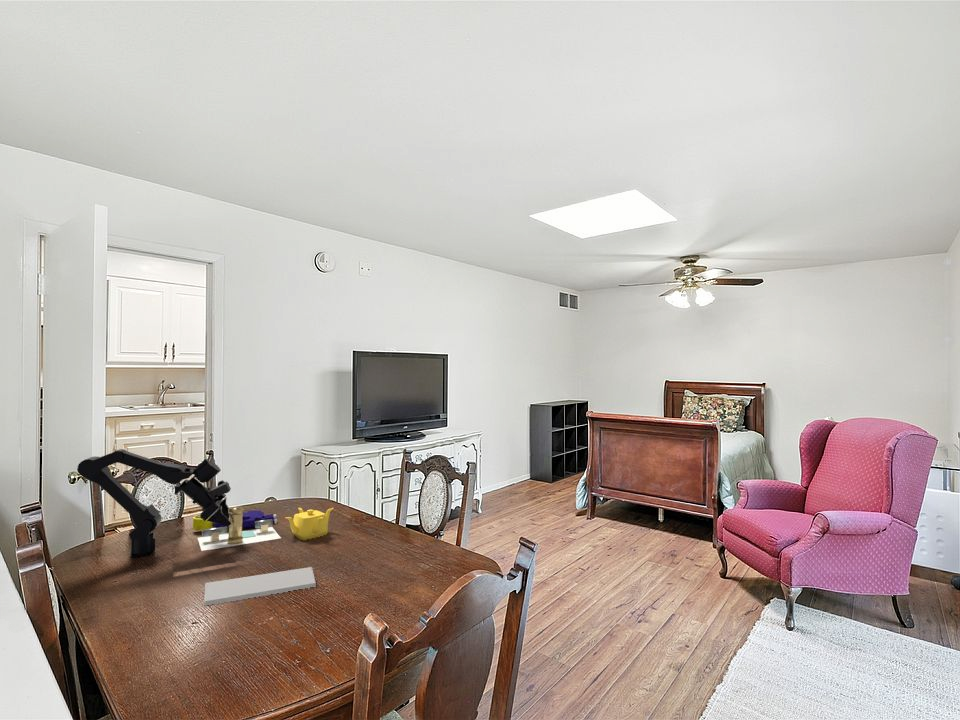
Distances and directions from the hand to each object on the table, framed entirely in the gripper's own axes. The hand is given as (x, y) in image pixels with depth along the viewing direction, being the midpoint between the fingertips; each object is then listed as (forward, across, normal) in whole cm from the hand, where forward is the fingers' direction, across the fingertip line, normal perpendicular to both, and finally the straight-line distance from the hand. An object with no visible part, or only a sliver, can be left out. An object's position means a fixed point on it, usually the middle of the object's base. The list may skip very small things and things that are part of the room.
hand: (231, 520), depth 184 cm
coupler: (+6, 0, +5) cm, 8 cm away
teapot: (+26, +4, -12) cm, 29 cm away
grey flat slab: (+16, -42, -2) cm, 44 cm away
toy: (+6, +20, +7) cm, 22 cm away
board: (+8, +4, +5) cm, 10 cm away
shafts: (+6, +7, +4) cm, 10 cm away
